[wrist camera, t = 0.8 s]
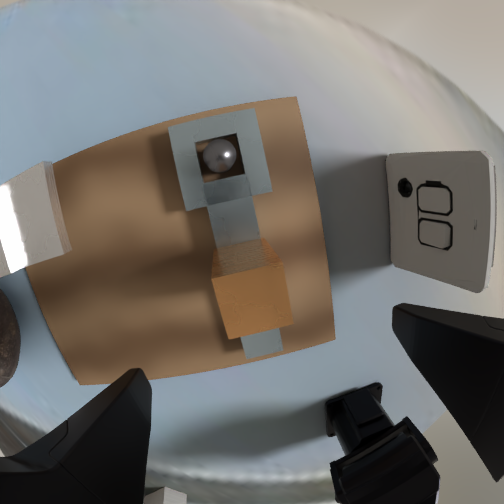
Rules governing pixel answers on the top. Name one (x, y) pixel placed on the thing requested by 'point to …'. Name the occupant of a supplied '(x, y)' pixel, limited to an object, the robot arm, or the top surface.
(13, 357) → the dark brown tapered bulb
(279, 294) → the link
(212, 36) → the top surface
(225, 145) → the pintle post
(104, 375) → the base board
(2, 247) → the block
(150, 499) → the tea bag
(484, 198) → the electrical switch
